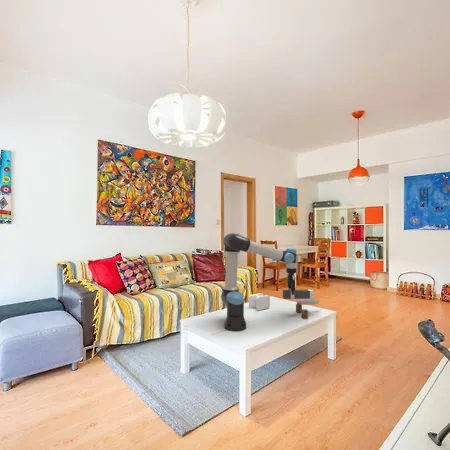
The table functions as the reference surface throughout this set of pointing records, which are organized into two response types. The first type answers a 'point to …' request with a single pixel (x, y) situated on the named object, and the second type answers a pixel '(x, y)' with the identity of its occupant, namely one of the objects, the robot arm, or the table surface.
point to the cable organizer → (259, 301)
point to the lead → (299, 294)
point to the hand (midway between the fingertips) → (291, 297)
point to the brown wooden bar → (302, 311)
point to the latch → (307, 302)
